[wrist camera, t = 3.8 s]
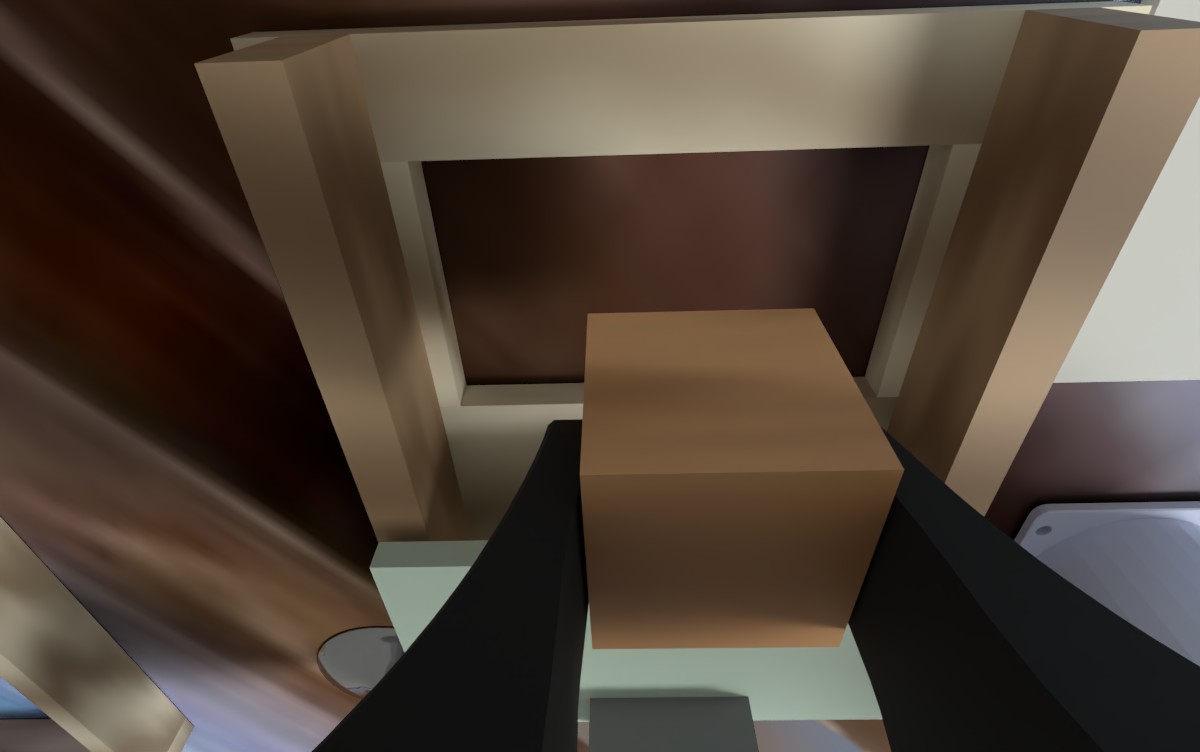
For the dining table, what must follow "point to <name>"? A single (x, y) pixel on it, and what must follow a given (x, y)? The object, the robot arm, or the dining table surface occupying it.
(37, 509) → the dining table surface
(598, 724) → the slide cover
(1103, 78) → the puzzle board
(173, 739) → the bottle frame
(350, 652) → the wine glass
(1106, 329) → the mat
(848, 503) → the wooden block
